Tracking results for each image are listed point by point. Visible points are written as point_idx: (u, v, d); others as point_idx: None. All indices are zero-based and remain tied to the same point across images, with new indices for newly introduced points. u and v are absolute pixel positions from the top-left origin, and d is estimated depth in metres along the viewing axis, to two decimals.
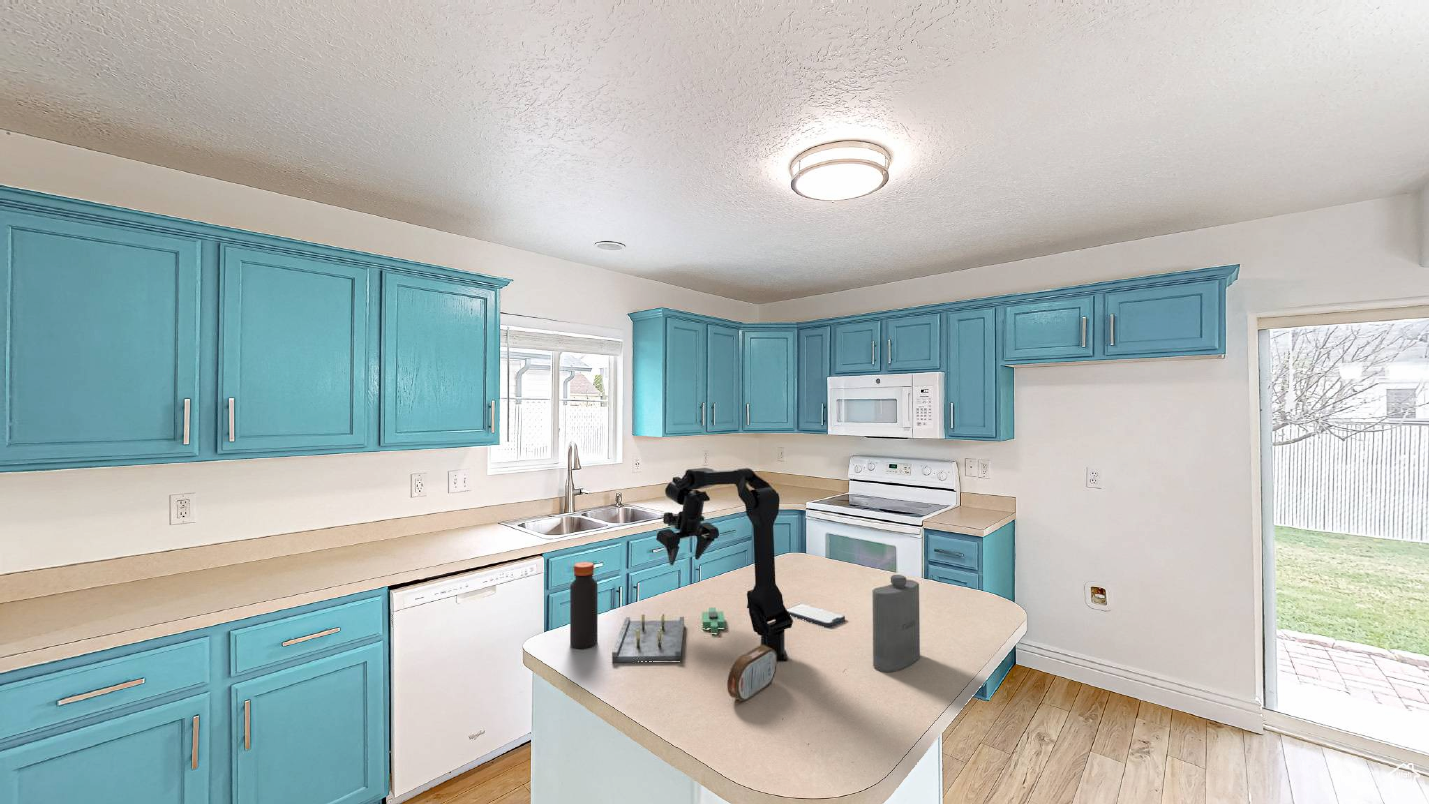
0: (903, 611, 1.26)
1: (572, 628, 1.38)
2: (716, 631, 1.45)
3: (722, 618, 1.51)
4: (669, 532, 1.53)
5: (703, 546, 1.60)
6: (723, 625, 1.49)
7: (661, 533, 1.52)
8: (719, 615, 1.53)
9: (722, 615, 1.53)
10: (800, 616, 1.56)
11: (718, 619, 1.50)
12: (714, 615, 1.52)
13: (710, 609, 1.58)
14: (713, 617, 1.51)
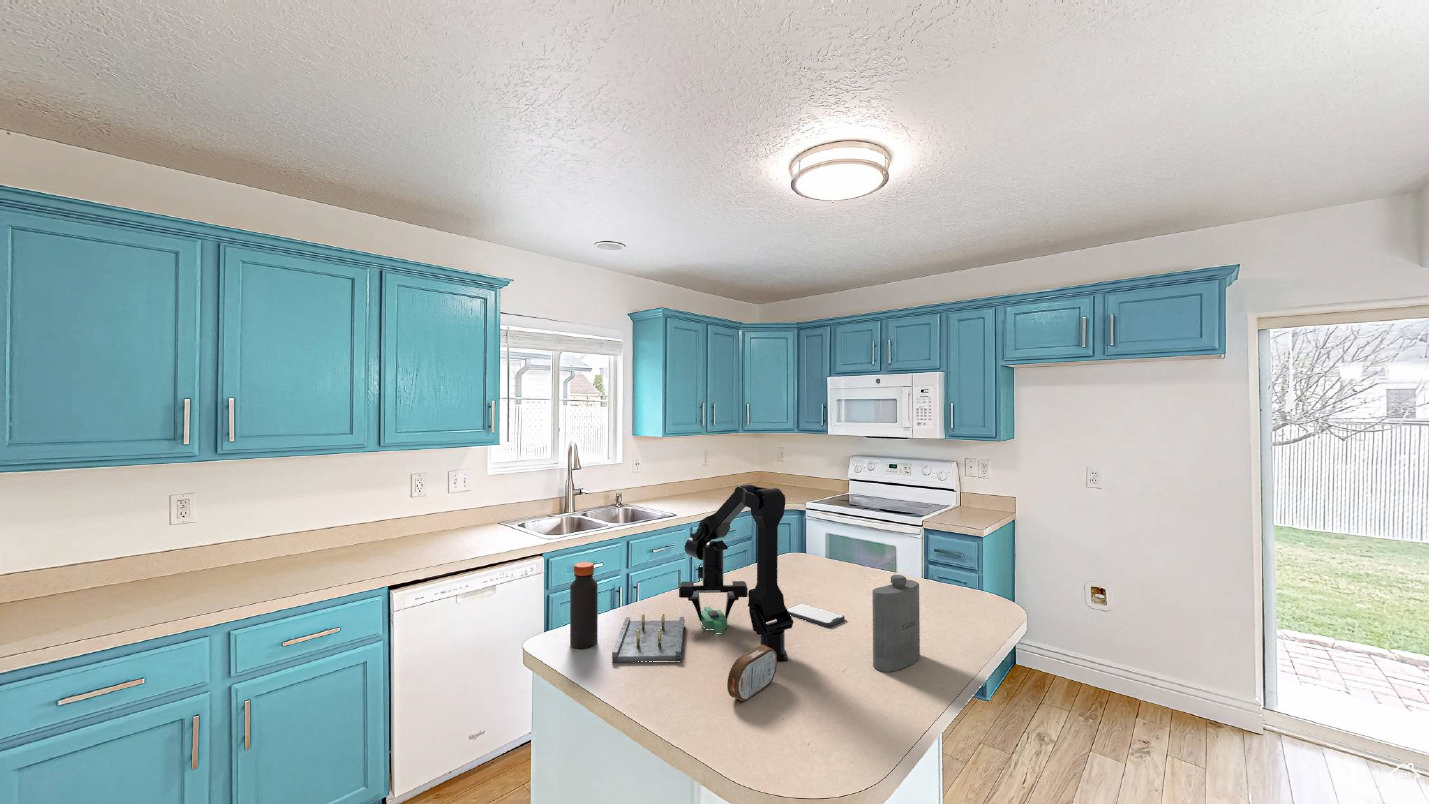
0: (903, 611, 1.26)
1: (572, 628, 1.38)
2: (721, 629, 1.46)
3: (723, 616, 1.52)
4: (688, 583, 1.53)
5: (727, 605, 1.51)
6: (725, 623, 1.49)
7: (680, 584, 1.53)
8: (718, 614, 1.53)
9: (721, 613, 1.54)
10: (800, 616, 1.56)
11: (719, 617, 1.51)
12: (714, 614, 1.52)
13: (706, 608, 1.58)
14: (714, 616, 1.51)
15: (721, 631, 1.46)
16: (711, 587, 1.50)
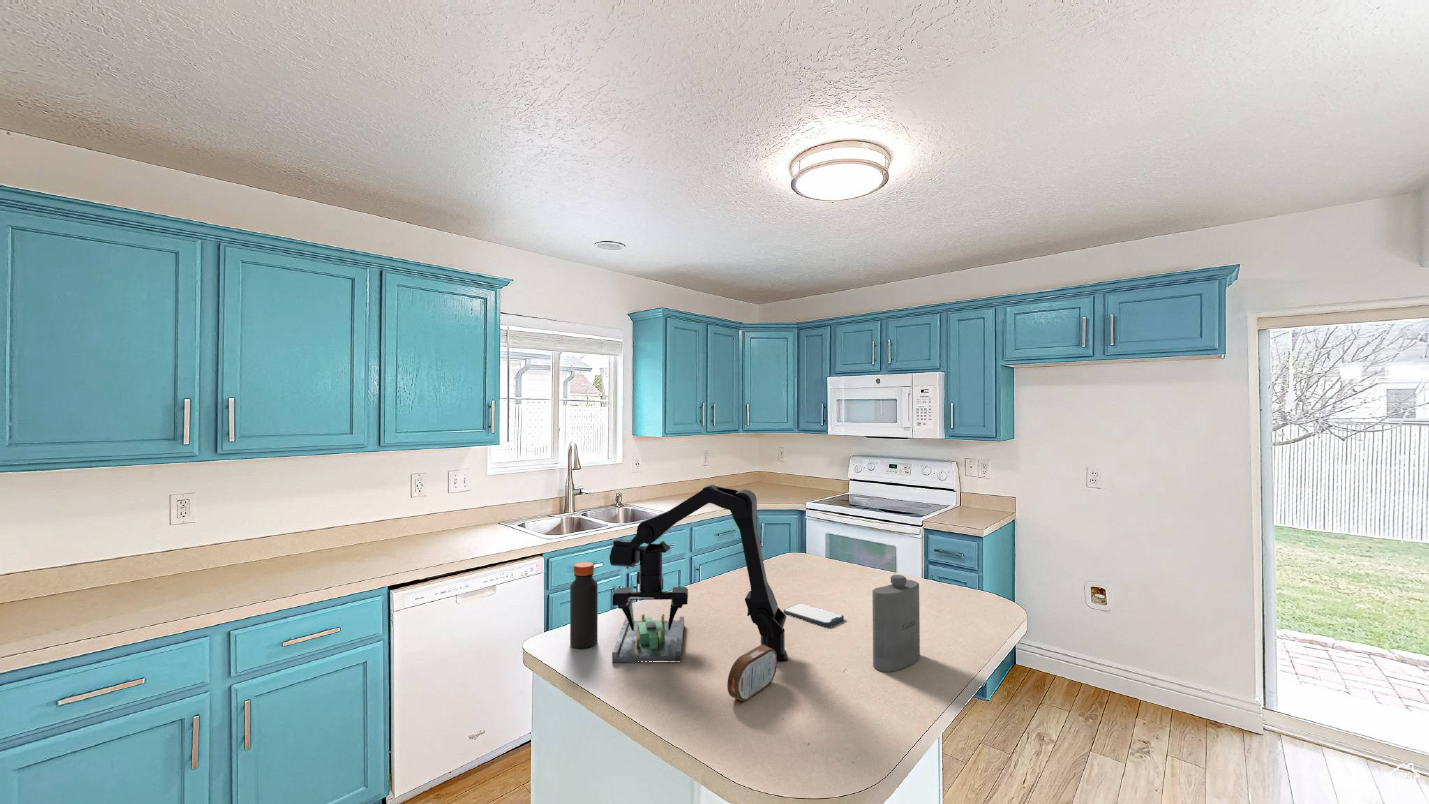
0: (903, 611, 1.26)
1: (572, 628, 1.38)
2: (656, 643, 1.34)
3: (661, 628, 1.39)
4: (624, 590, 1.41)
5: (670, 614, 1.39)
6: (662, 636, 1.37)
7: (616, 590, 1.41)
8: (657, 625, 1.41)
9: (660, 625, 1.41)
10: (799, 616, 1.56)
11: (657, 629, 1.38)
12: (652, 625, 1.40)
13: (646, 619, 1.46)
14: (651, 628, 1.39)
15: (656, 645, 1.34)
16: (647, 594, 1.38)
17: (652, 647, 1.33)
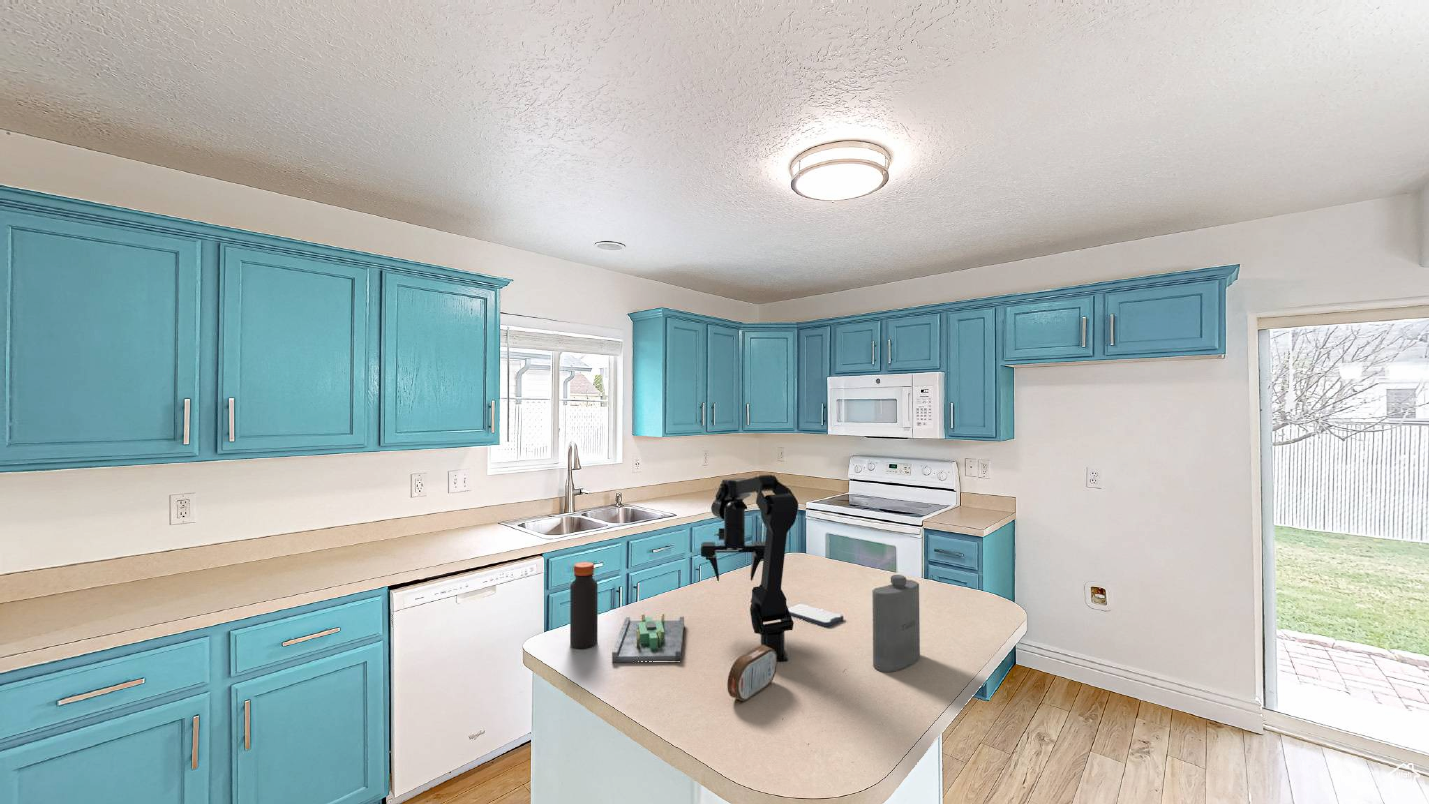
0: (903, 611, 1.26)
1: (572, 628, 1.38)
2: (656, 643, 1.34)
3: (661, 628, 1.39)
4: (709, 543, 1.53)
5: (753, 565, 1.51)
6: (662, 636, 1.37)
7: (702, 544, 1.54)
8: (657, 625, 1.41)
9: (660, 625, 1.41)
10: (798, 616, 1.56)
11: (657, 629, 1.38)
12: (652, 625, 1.40)
13: (646, 619, 1.46)
14: (651, 628, 1.39)
15: (656, 645, 1.34)
16: (733, 546, 1.50)
17: (652, 647, 1.33)
